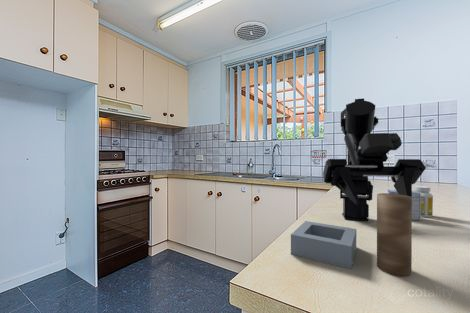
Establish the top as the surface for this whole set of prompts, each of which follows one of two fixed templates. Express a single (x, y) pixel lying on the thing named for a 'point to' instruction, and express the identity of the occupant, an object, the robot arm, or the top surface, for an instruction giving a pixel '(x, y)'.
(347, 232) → the well
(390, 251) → the walnut cylinder
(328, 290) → the top surface
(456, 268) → the top surface
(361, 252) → the top surface
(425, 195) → the supplement bottle
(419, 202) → the medicine box
